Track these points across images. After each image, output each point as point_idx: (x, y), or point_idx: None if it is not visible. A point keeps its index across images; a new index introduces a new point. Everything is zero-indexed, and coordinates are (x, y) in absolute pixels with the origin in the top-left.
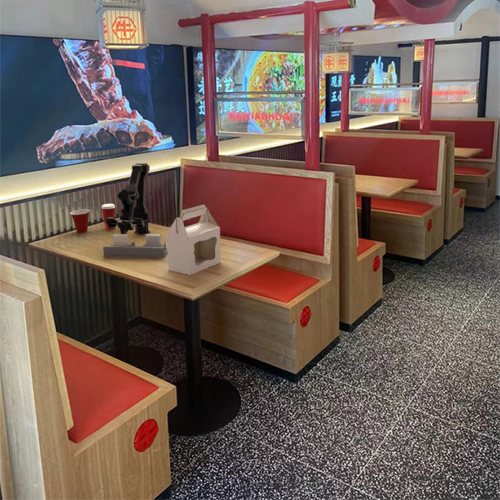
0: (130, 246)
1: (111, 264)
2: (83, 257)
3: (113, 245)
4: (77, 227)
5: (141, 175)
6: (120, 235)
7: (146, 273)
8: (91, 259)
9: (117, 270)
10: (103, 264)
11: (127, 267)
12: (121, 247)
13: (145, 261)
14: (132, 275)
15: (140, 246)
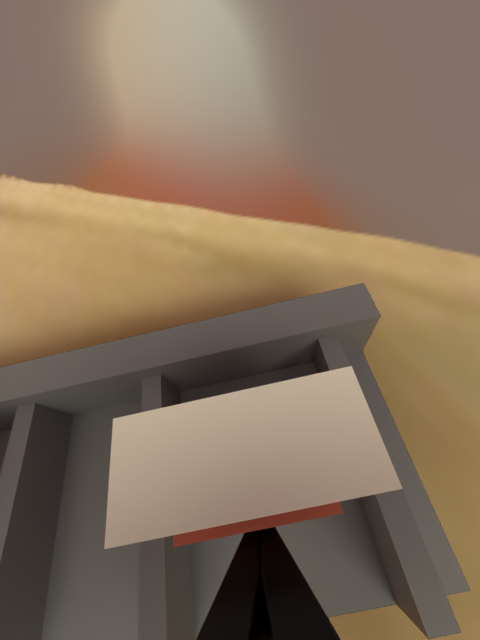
0: (110, 366)
1: (213, 242)
2: (474, 274)
3: None
4: None
5: None
6: (227, 410)
7: (29, 217)
8: (383, 263)
9: (153, 202)
10: (254, 229)
11: (120, 238)
12: (187, 324)
13: (41, 332)
14: (80, 189)
15: (15, 394)
